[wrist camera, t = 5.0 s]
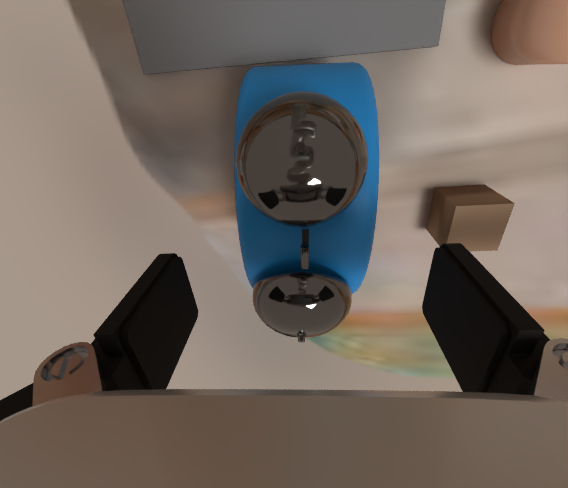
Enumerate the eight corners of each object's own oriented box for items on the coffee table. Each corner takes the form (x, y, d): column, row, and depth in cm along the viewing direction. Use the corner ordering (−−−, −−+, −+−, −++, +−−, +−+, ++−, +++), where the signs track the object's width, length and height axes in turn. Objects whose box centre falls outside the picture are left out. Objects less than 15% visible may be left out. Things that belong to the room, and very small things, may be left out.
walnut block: (434, 187, 24) (456, 206, 21) (484, 184, 24) (514, 203, 20) (426, 228, 26) (444, 252, 23) (471, 226, 26) (497, 250, 22)
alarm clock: (335, 228, 27) (366, 375, 14) (270, 229, 27) (241, 371, 14) (347, 64, 20) (427, 54, 7) (259, 67, 20) (184, 64, 7)
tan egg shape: (505, -30, 17) (573, -64, 13) (596, -41, 16) (699, -80, 12) (481, 68, 20) (531, 67, 15) (560, 61, 19) (634, 58, 15)
